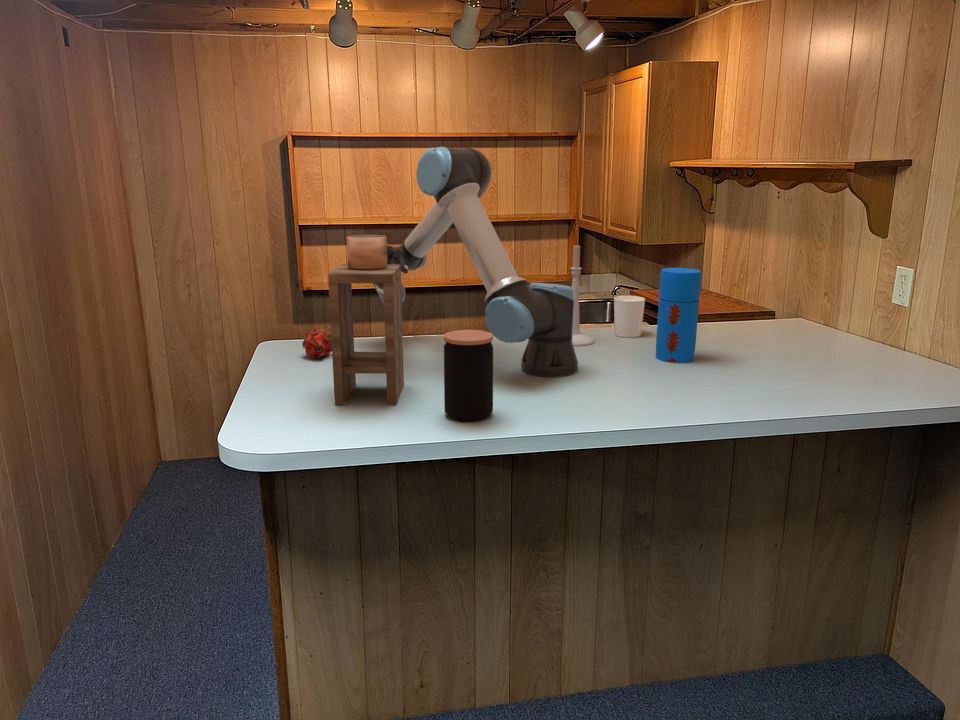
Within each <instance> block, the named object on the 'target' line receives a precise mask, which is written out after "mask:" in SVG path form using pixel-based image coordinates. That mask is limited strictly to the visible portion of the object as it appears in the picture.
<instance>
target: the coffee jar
mask: <svg viewBox="0 0 960 720" xmlns="http://www.w3.org/2000/svg"><path fill="white" fill-rule="evenodd" d="M493 340H494V336H493V334H492V333H491V332H490V331H485V330H480V329H459V330H452V331H448V332H446V333H444V334H443V341H444V342H445V344H444V346H443V377H444V378H443V384H444V385H443V386H444V387H443V388H444V391H443V392H444V393H443V394H444V398H443V399H444V400H443V401H444V403H443V404H444V407H443V408H444V414H446V416H447V417H448V418H449V419H451V420H453V421H457V422H461V423H473V422H474V423H475V422H481V421H484V420H486V419H489V417H490V416H491V414H492V412H493V410H494V346H493V343H492V342H493Z"/></svg>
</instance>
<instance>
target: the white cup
mask: <svg viewBox="0 0 960 720" xmlns="http://www.w3.org/2000/svg"><path fill="white" fill-rule="evenodd" d="M645 305H646V298H645V297H643V296H637V295H617V296H614V297H613V312H614V313H613V318H614V319H613V321H614V322H613V330H614V333H613V334H614V335H615V336H616V337H620V338H628V339H630V338H631V339H634V338H639V337H640V336H641V335H642V328H643V319H644V312H645Z"/></svg>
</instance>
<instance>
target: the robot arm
mask: <svg viewBox="0 0 960 720" xmlns="http://www.w3.org/2000/svg"><path fill="white" fill-rule="evenodd" d="M415 171H416V173H415V177H416V184H417V185H418V188H419V189H420V190H421V191H420V192H422V193H423V194H425V195H427V196H429V197H434V199H435V203H433V205H432V206H431V207H430V209H429V210H428V211H427V212H426V213H425V215H424V216H423V217H422V219H421V220H420V221H419V222H418V224H417V225H416V226H415V227H414V229H412V231H411V232H410V233H409V235H408V236H407V237H406V238H405V239H404V241H403V242H402V243H401V244H400V245H398V246H391V245H387V264H401V273H403V274H408V273H409V271H415V270H418V269H421V268H423V267H424V266H425V265H426V263H427V258H428V255H427V253H429V251H430V250H431V249H432V248H433V246H434V245H435V244H436V243H437V242H438V241H439V240H440V238H441V237H442V236H443V235H444V234H445V233H446V232H447V231H448V230H449V229H450V227H451V226H452V225H454V227H455V230H456V231H457V233H458V235H459V237H460V239H461V241H462V243H463V245H464V247H465V249H466V251H467V253H468V255H469V257H470V259H471V261H472V263H473V265H474V268H475V269H476V271H477V274H478V275H479V278H480V280H481V282H482V283H483V285H484V288H485V290H486V295H485V299H484V302H485V303H486V308H485V311H484V313H485V316H484V321H485V323H486V327H487V329H488V332H490V333H491V334H493V338H496V339H497V340H499V341H500V342H503V343H507V344H514V343H522V342H525V341H527V343H526V346H525V348H524V349H525V350H524V352H523V355H522V357H521V362H520V364H521V365H520V369H521V371H522V372H524V373H527V374H529V375H533V376H539V377H548V378H549V377H550V378H551V377H564V376H565V377H566V376H570V375H574V374H575V373H577V372H578V370H579V361H578V358H577V353H576V352H575V348H574V347H575V346H573V343H572V331H573V307H574V292H573V289H572V286H569V285H565V284H558V283H545V282H531V283H529V282H528V280H527V279H526V278H523V277H520V276H519V275H518V274H517V272H516V270H515V268H514V266H513V263H512V261H511V260H510V257H509V256H508V254H507V252H506V249H505V248H504V245H503V243H502V242H501V240H500V238H499V236H498V234H497V232H496V230H495V228H494V226H493V224H492V222H491V220H490V217H489V216H488V214H487V212H486V210H485V208H484V206H483V204H482V202H481V200H480V198H481V197H482V196H483V195H484V194H485V192H486V190H487V189H488V187H489V185H490V182H491V179H492V167H491V164H490V161H489V159H488V157H487V156H486V155H485V154H484V153H482V152H481V151H480V150H478V149H475V148H472V147H465V148H464V147H445V146H439V147H431V148H429V149H427V150H425V151H424V153H422V155H421V156H420V158H419V159H418V162H417V167H416V170H415ZM371 284H372V285H373V287H374V288H375V291H376V293H377V294H378V295H379V296H378V297H379V299H380V301H381V302H382V303H383V304H384V287H383V283H371ZM401 295H402V303H404V301H405V300H406V299H405V298H406V288H405V285H404V284H403V279H402V278H401Z"/></svg>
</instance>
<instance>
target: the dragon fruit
mask: <svg viewBox="0 0 960 720" xmlns="http://www.w3.org/2000/svg"><path fill="white" fill-rule="evenodd" d="M302 348H303V349H304V350H305V354H306V355H309V357H311V359H313V360H317V359H316V358H318V357H319V358H320V357H328V356H329V355H330V354H331V353H332V341H331V332H327V331H325V329H322V328H319V329H317V328H313V329H311V331H310V333H309V332H308V333H306V334H305V335H304V336H303V342H302ZM319 358H318V359H319Z"/></svg>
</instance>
